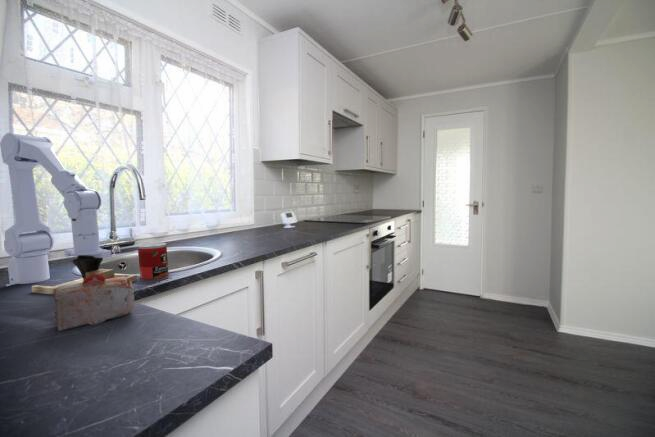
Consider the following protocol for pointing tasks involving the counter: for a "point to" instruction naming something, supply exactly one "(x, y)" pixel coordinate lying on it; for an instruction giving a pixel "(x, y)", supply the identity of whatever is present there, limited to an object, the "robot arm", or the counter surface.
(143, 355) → the counter surface
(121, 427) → the counter surface
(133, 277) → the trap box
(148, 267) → the canned food
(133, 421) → the counter surface
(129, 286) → the food item
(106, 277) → the beige cube
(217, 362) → the counter surface
